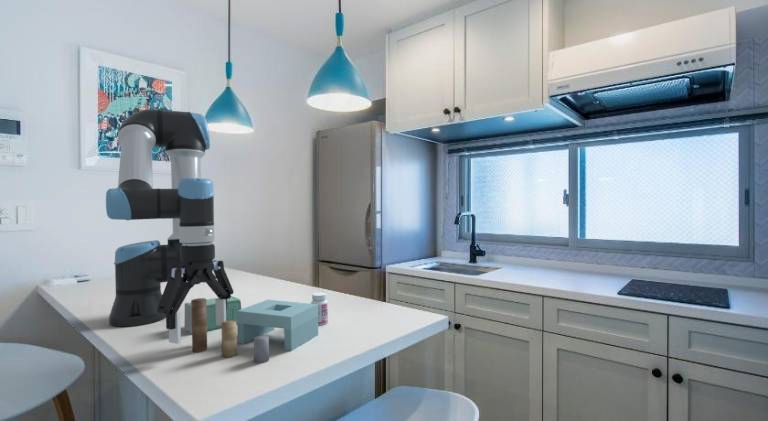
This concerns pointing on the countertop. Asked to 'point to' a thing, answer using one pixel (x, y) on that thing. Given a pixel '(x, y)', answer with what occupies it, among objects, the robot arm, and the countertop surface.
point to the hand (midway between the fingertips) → (199, 333)
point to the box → (213, 313)
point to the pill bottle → (321, 307)
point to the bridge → (279, 321)
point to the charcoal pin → (261, 349)
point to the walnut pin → (199, 325)
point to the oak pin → (229, 339)
